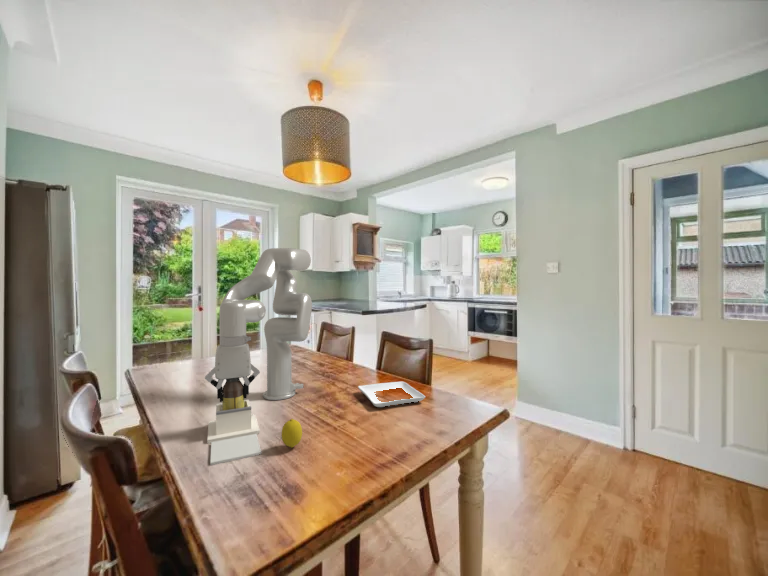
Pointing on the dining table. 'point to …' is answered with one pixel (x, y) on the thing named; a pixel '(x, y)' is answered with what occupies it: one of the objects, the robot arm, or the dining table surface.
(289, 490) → the dining table surface
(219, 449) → the mat
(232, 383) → the sauce bottle
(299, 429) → the lemon
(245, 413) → the caddy
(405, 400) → the salad plate
